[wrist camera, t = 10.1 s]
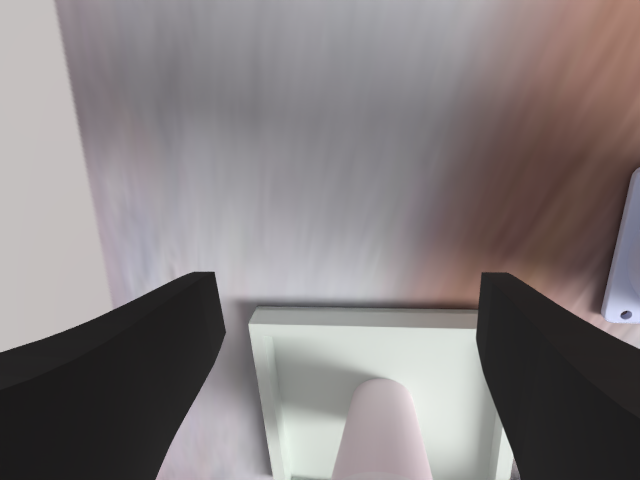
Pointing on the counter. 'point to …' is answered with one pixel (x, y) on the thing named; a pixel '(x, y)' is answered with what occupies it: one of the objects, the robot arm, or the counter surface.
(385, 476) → the smoothie
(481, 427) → the tray
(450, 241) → the counter surface
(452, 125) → the counter surface
